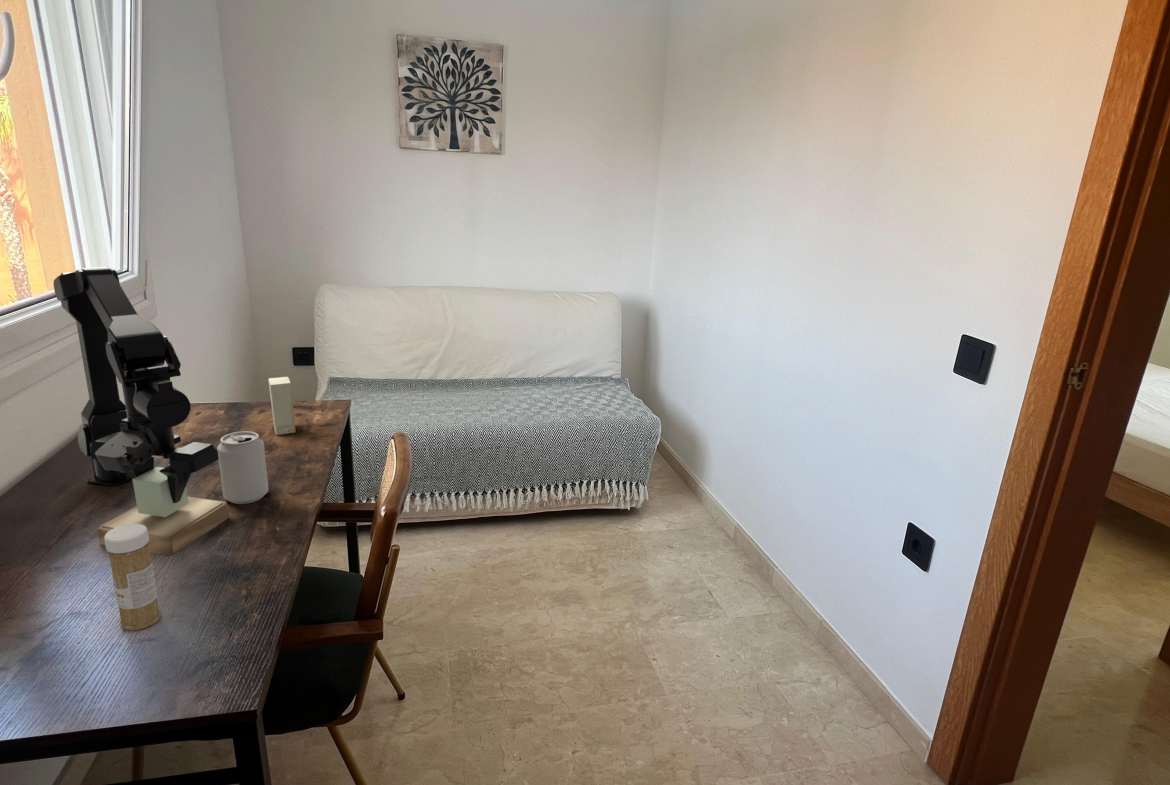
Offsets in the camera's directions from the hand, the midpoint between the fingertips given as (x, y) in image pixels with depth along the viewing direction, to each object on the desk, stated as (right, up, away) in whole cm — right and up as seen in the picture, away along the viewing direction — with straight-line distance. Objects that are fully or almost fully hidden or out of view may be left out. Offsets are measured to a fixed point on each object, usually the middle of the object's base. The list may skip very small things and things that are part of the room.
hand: (162, 499), depth 108 cm
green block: (0, -1, 0) cm, 2 cm away
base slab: (0, -5, +2) cm, 6 cm away
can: (+7, -2, +14) cm, 16 cm away
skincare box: (-1, +9, +47) cm, 47 cm away
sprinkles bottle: (+10, -13, -21) cm, 26 cm away
